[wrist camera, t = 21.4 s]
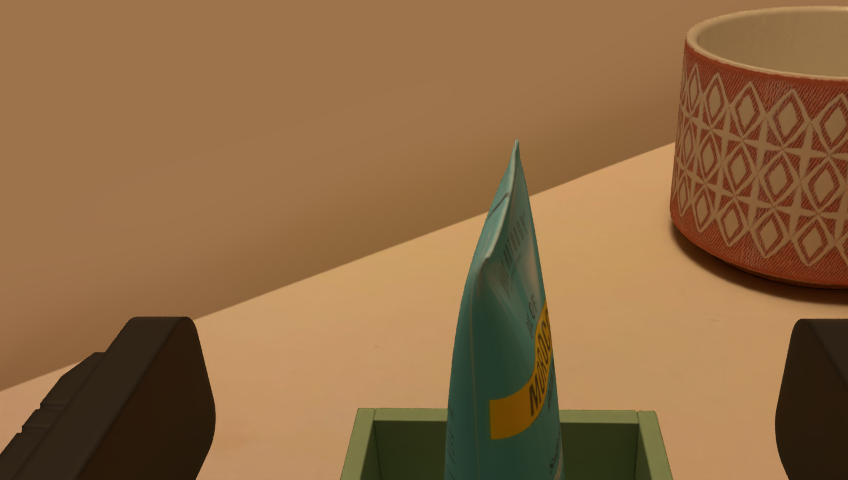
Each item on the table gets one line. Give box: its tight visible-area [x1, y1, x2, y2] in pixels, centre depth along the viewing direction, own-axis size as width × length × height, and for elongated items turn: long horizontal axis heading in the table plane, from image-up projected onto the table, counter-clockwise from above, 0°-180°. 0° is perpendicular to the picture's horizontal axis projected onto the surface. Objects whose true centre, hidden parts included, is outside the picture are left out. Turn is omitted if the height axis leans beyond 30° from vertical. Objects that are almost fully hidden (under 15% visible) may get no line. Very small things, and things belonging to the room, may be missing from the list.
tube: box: [444, 139, 565, 480], centre depth 26 cm, size 7×5×19 cm, turn 173°
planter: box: [670, 6, 848, 289], centre depth 54 cm, size 19×19×15 cm
